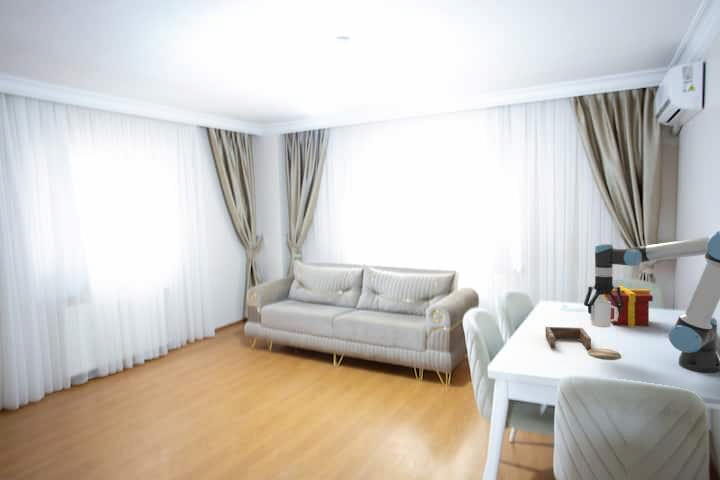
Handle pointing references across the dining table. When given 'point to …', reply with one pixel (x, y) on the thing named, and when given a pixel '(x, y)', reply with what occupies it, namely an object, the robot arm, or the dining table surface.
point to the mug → (602, 313)
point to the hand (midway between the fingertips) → (603, 320)
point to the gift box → (631, 307)
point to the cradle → (567, 335)
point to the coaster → (604, 353)
